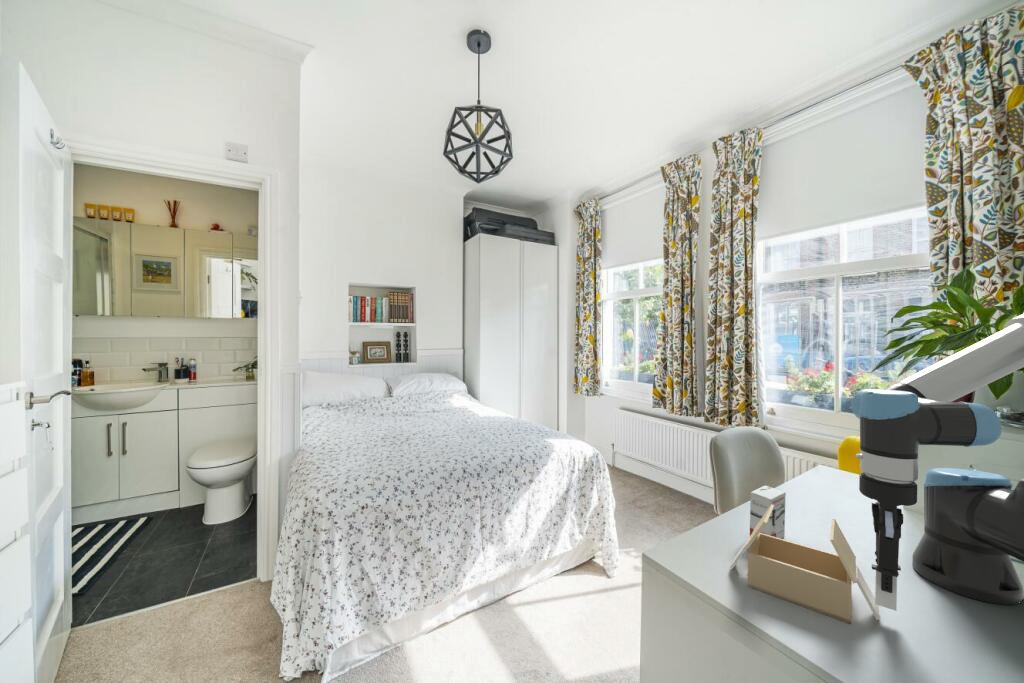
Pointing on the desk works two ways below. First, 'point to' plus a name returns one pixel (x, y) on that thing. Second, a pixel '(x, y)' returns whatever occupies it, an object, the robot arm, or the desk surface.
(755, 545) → the carton
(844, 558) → the near flap
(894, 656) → the desk surface
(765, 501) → the ink box
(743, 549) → the far flap
